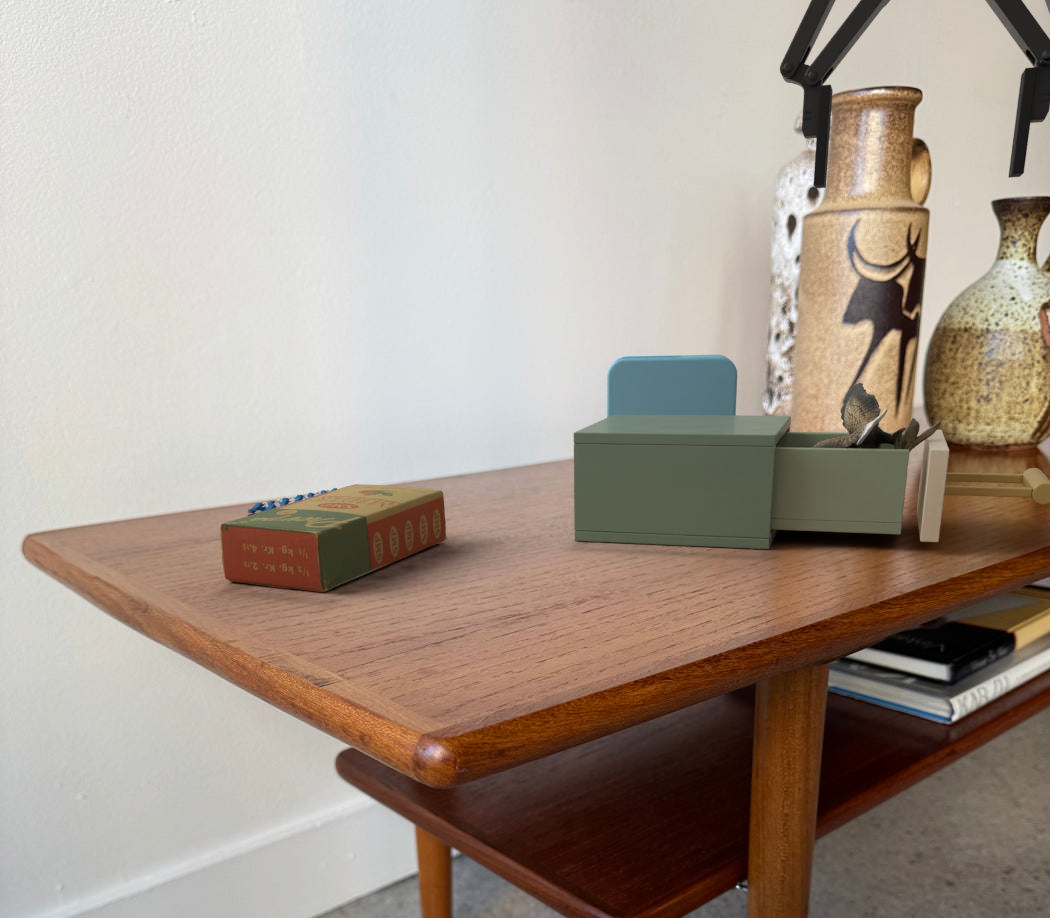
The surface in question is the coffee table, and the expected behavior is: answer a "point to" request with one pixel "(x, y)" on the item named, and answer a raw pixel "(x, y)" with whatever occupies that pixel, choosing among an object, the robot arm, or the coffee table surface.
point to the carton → (332, 536)
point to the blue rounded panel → (672, 385)
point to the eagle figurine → (872, 425)
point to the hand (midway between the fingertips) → (915, 181)
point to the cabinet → (677, 480)
